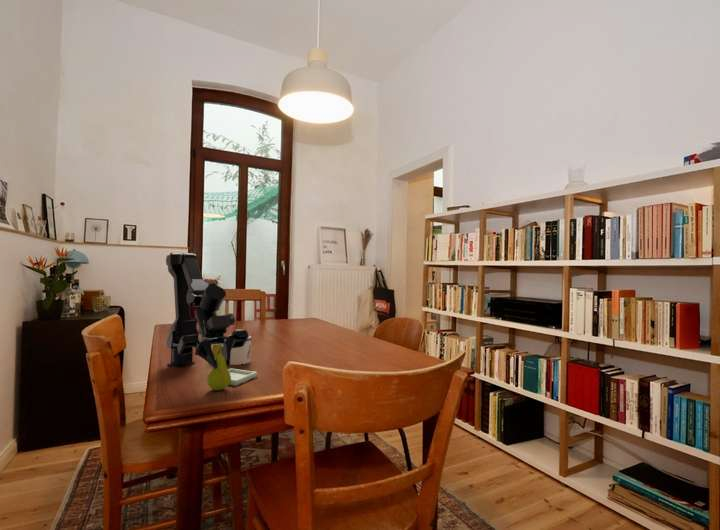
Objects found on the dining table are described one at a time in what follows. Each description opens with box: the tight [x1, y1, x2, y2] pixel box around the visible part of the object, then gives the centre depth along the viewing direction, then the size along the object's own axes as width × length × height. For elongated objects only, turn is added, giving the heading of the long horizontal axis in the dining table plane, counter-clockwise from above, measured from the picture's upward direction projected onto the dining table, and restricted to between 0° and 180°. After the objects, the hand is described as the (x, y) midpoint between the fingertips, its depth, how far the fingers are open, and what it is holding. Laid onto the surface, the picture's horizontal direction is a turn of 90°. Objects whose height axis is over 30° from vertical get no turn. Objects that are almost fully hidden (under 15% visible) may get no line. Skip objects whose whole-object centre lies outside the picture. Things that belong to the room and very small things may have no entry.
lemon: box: [211, 344, 223, 359], centre depth 134 cm, size 6×6×8 cm
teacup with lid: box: [229, 334, 253, 366], centre depth 134 cm, size 12×9×12 cm
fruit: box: [206, 347, 231, 391], centre depth 103 cm, size 6×6×12 cm
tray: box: [228, 367, 258, 387], centre depth 113 cm, size 10×10×2 cm
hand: (222, 366), depth 102 cm, fingers closed on fruit, 3 cm apart
